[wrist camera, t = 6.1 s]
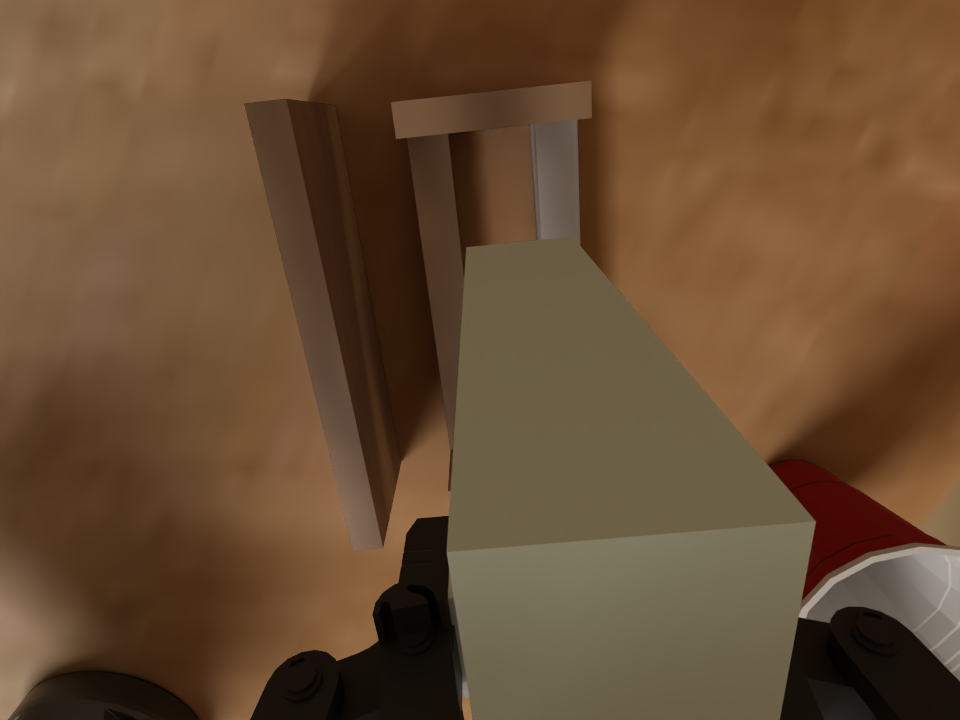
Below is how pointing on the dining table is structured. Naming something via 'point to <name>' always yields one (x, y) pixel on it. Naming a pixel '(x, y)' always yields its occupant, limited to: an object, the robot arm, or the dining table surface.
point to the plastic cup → (875, 562)
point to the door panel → (607, 512)
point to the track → (341, 270)
